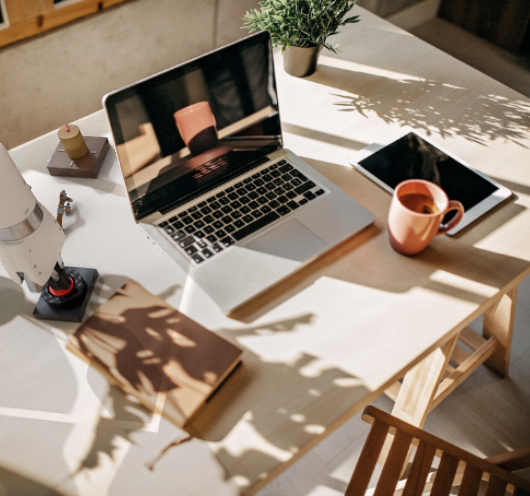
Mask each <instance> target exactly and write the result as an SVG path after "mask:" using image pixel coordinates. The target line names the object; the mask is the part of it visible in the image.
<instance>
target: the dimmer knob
mask: <svg viewBox="0 0 530 496" xmlns="http://www.w3.org/2000/svg"><path fill="white" fill-rule="evenodd" d="M56 135H57V137H58V139H59V142H60V141H61V143H62V145H63V147H64V149H65V151H66V154H67V156H68V157H70V158H73V159H77V158H81V157H83V156H84V155H85V154H86V153H87V151H88V148H87V145H86V143H85V141H84V138H83V136H84V135H83V134H82V132H81V129H80V127H79V126H78V125H76V124H72V123H70V124H68V123H64V124H63V126H61V127H60V128H59V129H58V130H57V133H56Z"/></svg>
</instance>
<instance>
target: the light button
mask: <svg viewBox="0 0 530 496" xmlns="http://www.w3.org/2000/svg"><path fill="white" fill-rule="evenodd" d="M69 277H70V276H69ZM70 279H71V280H72V278H71V277H70ZM69 286H70V288H69V290H64V289H61V290H53V289H52V288H51V287H50V286H49V290H50V292H51V293H52V295H53V296H54V297H62V296H65V295H68V294H69V293H70V292H71V291H72V290H73V288H74V286H75V283H74V281H73V280H72V283H71V284H70V285H69Z"/></svg>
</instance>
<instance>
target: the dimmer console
mask: <svg viewBox="0 0 530 496" xmlns="http://www.w3.org/2000/svg"><path fill="white" fill-rule="evenodd" d="M82 136H83V138H84V141H85V143H86V145H87V148H88V151H87V153H86V154H85V155H84V156H83V157H81V158H77V159H73V158H70V157H68V156H67V154H66V151H65V149H64V147H63V145H62V143H61V141H60V140H59V142H58V144H57V146H56V148H55V150H54V152H53V153H52V156H51V158H50V159H49V161H48V163H47V165H46V169H47V170H48V174H49V175H50V176H53V177H54V176H55V177H67V178H68V177H71V178H83V179H85V178H86V179H98V175H99V173H100V172H101V168H102V167H103V164H104V162H105V159H106V157H107V155H108V153H109V150H110V148H111V144H110V141H109V138H108V137H107V136H91V135H82Z"/></svg>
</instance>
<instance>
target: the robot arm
mask: <svg viewBox="0 0 530 496" xmlns="http://www.w3.org/2000/svg"><path fill="white" fill-rule="evenodd" d="M56 219H57V218H55V216H54V215H53V214H52V212H50V210H49V209H48V208H47V207H46V206H45V205H43V203H42V202H40V201H39V200H38V199H37V197H36V196H35V194H34V193H33V191H32V186H31V185H30V184H28V183H27V181H26V180H25V178H24V176H23V174H22V172H21V171H20V170H19V168H18V166H17V164H16V163H15V162H14V159H13V158H12V156H11V155H10V153H9V152H8V150H7V148H6V147H5V146H4V144H3V143H2V142H0V264H1V266H2V267H3V268H4V270H5V271H6V274H8V276H9V277H10V278H11V279H12V281H13V282H14V283H15V284H16V285H21V286H22V285H23V283H24V281H25V283H26V284H25V285H26V286H27V288H28V291H29V293H31V294H41V290H42V288H43V287H44V284H47V283H48V284H49V286H50V287H51V288H52V289H53V290H61V289H64V290H69V288H70V286H69V285H70V284H71V283H72V280H71V279H70V277H69V276H68V274H67V273H66V271H65V270H64V269H63V267H64V266H65V261H64V259H63V257H62V250H63V248H64V245H65V242H66V235H65V231H63V230H62V229H63V227H62V228H61V227H60V225H59V223H58V222H57V221H56Z"/></svg>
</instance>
